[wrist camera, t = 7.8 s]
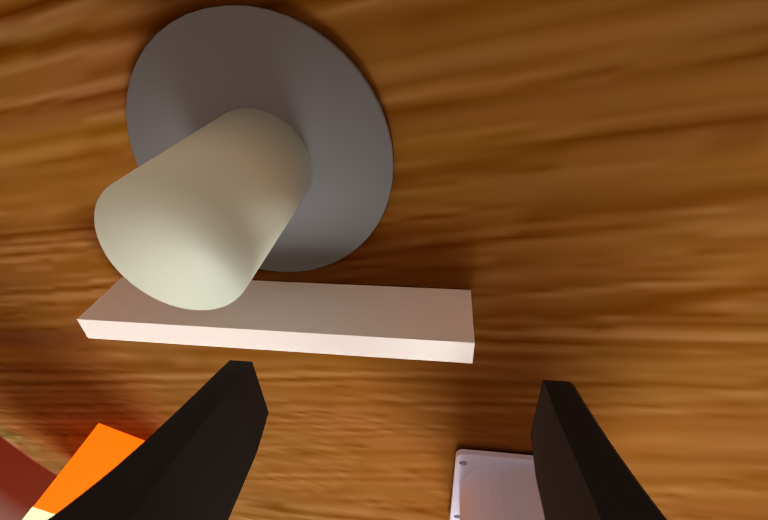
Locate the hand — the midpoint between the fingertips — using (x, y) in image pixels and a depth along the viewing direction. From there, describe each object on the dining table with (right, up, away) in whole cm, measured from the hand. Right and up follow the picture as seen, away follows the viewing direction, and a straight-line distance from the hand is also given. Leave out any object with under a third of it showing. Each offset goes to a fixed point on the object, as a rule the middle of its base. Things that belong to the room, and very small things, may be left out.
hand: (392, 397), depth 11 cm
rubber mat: (-5, +8, +7) cm, 12 cm away
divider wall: (-5, +2, +11) cm, 12 cm away
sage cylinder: (-5, +7, +7) cm, 11 cm away
